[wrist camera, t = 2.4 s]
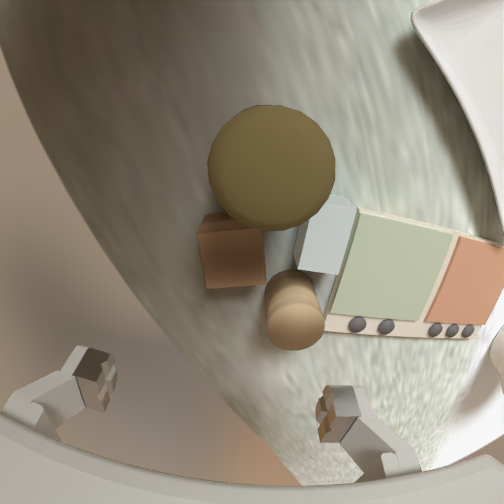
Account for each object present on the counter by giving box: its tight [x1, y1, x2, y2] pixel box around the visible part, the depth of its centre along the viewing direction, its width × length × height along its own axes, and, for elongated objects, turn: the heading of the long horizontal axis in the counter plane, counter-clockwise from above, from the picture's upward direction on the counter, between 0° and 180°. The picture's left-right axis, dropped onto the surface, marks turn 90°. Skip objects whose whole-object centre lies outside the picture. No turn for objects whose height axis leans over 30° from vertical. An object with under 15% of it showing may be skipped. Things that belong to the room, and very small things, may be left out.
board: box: [323, 207, 504, 339], centre depth 25 cm, size 11×19×1 cm, turn 81°
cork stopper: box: [265, 270, 325, 350], centre depth 23 cm, size 4×4×5 cm
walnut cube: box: [197, 213, 266, 289], centre depth 22 cm, size 4×4×4 cm
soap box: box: [293, 194, 357, 275], centre depth 22 cm, size 5×3×3 cm, turn 171°
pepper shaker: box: [208, 105, 335, 231], centre depth 16 cm, size 6×6×11 cm
